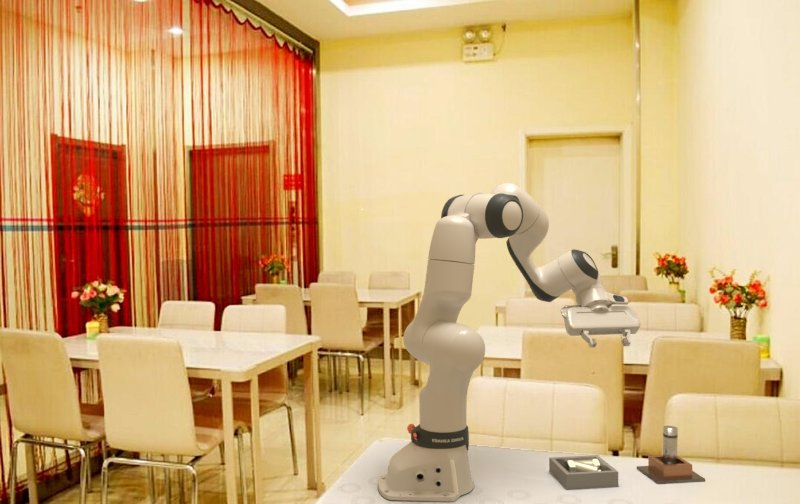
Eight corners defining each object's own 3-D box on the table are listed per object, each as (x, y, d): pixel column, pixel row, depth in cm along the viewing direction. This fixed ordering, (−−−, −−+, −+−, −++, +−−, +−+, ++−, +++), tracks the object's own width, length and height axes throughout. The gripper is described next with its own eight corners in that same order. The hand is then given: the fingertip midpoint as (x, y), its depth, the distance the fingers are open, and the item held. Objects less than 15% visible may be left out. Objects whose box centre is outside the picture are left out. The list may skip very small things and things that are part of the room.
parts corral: (566, 489, 146) (566, 474, 146) (549, 471, 157) (549, 457, 157) (618, 486, 147) (618, 471, 147) (597, 468, 159) (597, 455, 159)
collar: (657, 484, 149) (657, 468, 149) (636, 468, 159) (636, 454, 159) (705, 481, 150) (705, 466, 150) (681, 466, 160) (681, 452, 160)
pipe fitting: (606, 483, 151) (594, 470, 158) (607, 467, 151) (594, 455, 158) (575, 485, 150) (563, 472, 157) (575, 469, 150) (564, 457, 156)
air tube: (666, 475, 153) (667, 429, 152) (659, 469, 156) (660, 425, 156) (679, 474, 153) (680, 429, 153) (672, 469, 156) (673, 425, 156)
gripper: (561, 298, 174) (576, 339, 165) (632, 297, 177) (650, 337, 167) (556, 313, 179) (569, 353, 169) (625, 311, 181) (642, 351, 172)
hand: (610, 345), depth 168 cm, fingers open, 8 cm apart
